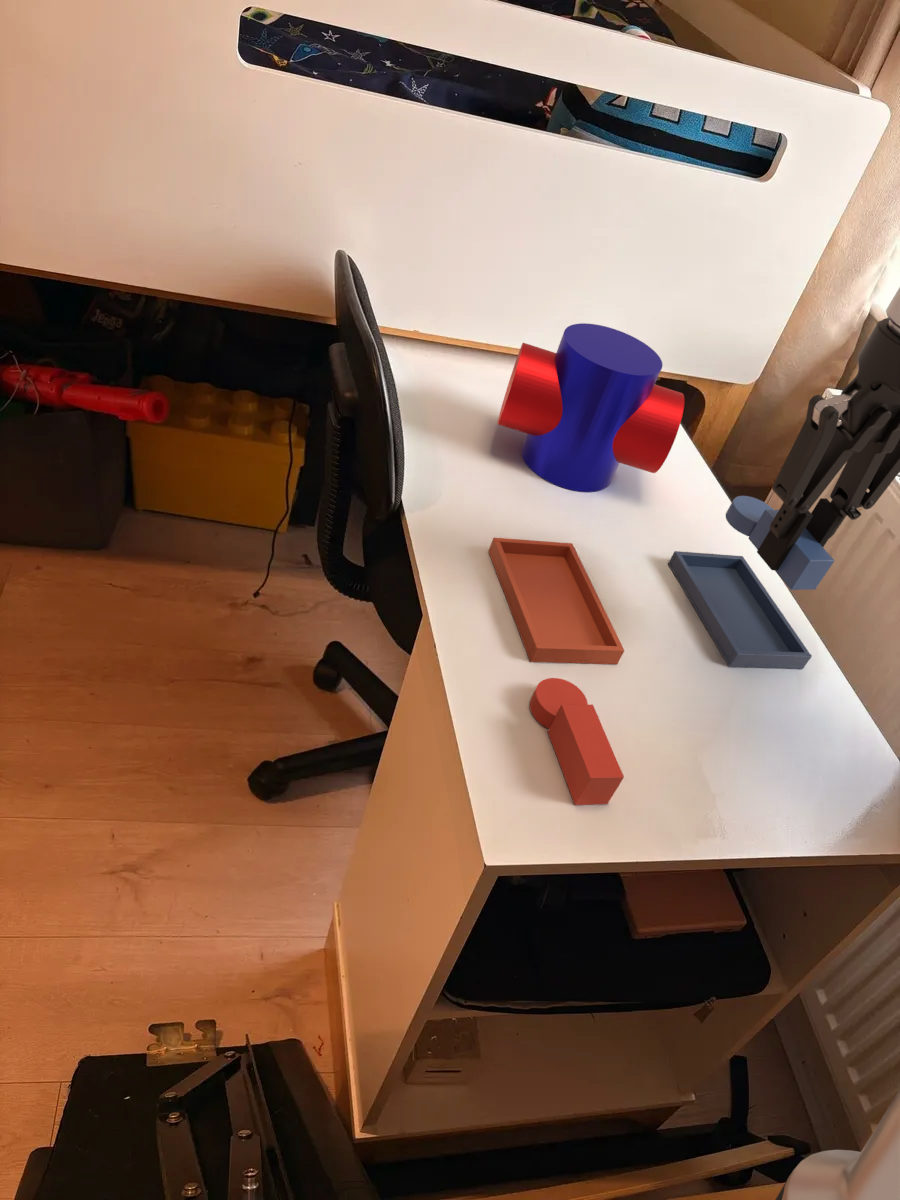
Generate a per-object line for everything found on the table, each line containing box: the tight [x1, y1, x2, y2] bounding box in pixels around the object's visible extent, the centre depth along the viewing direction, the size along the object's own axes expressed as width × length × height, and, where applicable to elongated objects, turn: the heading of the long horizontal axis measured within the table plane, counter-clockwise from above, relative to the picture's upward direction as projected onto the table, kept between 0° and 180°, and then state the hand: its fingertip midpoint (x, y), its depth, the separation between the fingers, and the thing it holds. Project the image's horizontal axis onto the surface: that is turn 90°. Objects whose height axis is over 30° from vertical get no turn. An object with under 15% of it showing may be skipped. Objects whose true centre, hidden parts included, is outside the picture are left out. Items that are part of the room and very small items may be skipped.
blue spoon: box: [725, 495, 835, 591], centre depth 87 cm, size 12×5×4 cm, turn 17°
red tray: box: [488, 537, 625, 665], centre depth 90 cm, size 16×9×2 cm, turn 12°
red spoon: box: [529, 677, 624, 806], centre depth 76 cm, size 12×5×4 cm, turn 12°
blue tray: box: [667, 550, 813, 670], centre depth 97 cm, size 16×9×2 cm, turn 12°
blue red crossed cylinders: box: [496, 322, 685, 493], centre depth 108 cm, size 20×12×16 cm, turn 81°
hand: (782, 560), depth 86 cm, fingers closed on blue spoon, 3 cm apart
